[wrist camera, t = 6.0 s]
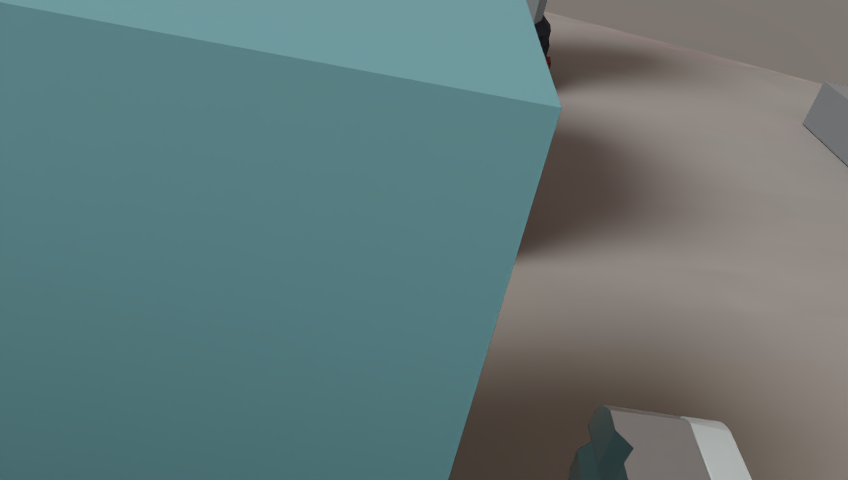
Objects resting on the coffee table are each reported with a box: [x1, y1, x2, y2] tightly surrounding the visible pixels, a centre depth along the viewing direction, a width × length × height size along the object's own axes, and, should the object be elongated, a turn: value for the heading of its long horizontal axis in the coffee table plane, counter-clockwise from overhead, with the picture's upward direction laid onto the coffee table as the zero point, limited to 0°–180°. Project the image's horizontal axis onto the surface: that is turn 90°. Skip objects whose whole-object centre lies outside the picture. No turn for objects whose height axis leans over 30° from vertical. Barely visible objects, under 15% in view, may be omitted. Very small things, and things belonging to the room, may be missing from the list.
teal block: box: [0, 0, 561, 480], centre depth 9 cm, size 5×5×10 cm
